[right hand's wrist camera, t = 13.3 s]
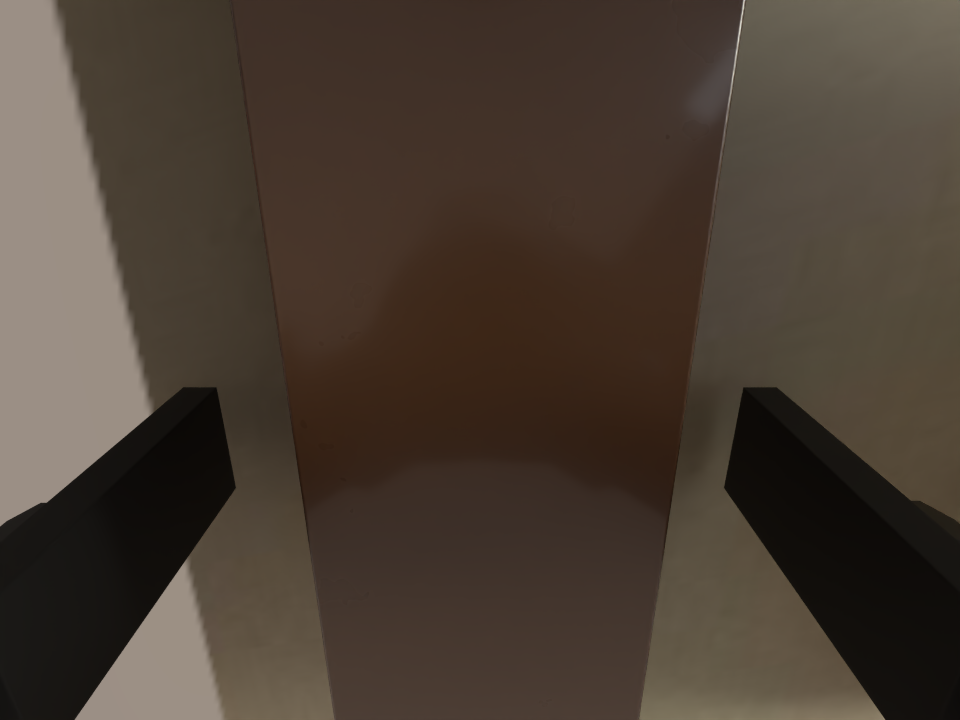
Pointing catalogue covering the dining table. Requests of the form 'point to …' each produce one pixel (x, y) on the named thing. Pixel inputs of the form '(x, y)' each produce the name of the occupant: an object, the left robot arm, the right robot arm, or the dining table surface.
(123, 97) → the dining table surface
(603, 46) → the walnut beam
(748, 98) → the dining table surface
